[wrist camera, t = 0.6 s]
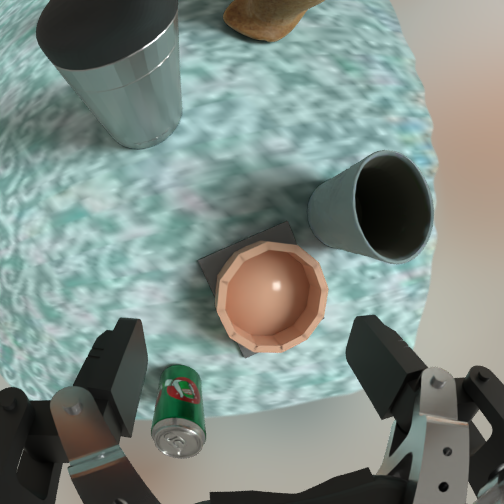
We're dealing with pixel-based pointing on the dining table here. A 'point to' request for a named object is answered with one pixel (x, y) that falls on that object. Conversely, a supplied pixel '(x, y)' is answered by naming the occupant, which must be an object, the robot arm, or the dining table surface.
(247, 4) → the tan boot
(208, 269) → the mat
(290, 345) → the bowl
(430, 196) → the grey-green tumbler
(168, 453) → the soda can
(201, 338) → the dining table surface
